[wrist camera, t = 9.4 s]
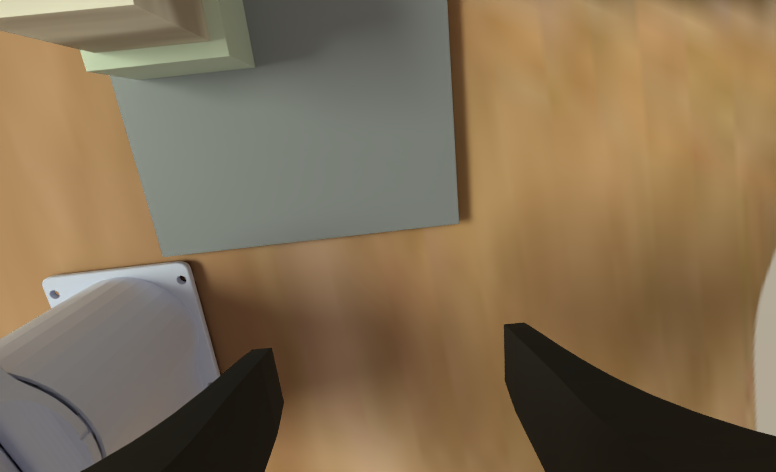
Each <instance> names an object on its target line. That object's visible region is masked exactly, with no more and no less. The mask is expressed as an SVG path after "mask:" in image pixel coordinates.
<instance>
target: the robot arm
mask: <svg viewBox="0 0 776 472" xmlns="http://www.w3.org/2000/svg"><path fill="white" fill-rule="evenodd" d="M180 276H184V277H185V278H186V282H184V281H182V280H181V279H180ZM42 285H43V289H44V291H45V294H46V296H47V299H48V301H49V304H50V306H51V309H50V310H48V311H46V312H45V313H43V314H41V315H40V316H38V317H36V318H35V319H33V320H31V321H30V322H28V323H26V324H25V325H23V326H21V327H20V328H18V329H16V330H14V331H13V332H11V333H9V334H8V335H6V336H4V337H3V338H1V339H0V472H265V469H266V466H267V463H268V460H269V458H270V455H271V452H272V449H273V446H274V443H275V440H276V437H277V434H278V429H279V425H280V420H281V415H282V410H283V404H284V400H283V396H282V392H281V387H280V383H279V378H278V374H277V369H276V365H275V361H274V356H273V352H272V348H265V349H255V350H251V351H250V352H249V353H247V354H246V355H245V356H243V357H242V358H241V359H240V360H239V361H237V362H236V363H235V364H234V365H233V366H231V367H230V368H229V369H228V370H227V371H226V372H224V373H223V374H222V375H221V376H220V372H219V369H218V365H217V361H216V358H215V354H214V350H213V347H212V343H211V339H210V336H209V332H208V329H207V325H206V321H205V318H204V314H203V310H202V307H201V303H200V299H199V296H198V292H197V288H196V285H195V281H194V277H193V274H192V270H191V267H190V265H189V264H188V263H186V262H184V261H176V262H167V263H158V264H149V265H141V266H132V267H123V268H114V269H105V270H97V271H88V272H79V273H70V274H61V275H53V276H50V277H48V278H46V279H45V280H43V283H42ZM55 290H56V291H57V292H58V293H59V295H60V296H59V295H57V294H56V292H55ZM504 353H505V382H506V385H507V388H508V391H509V394H510V397H511V400H512V403H513V406H514V408H515V411H516V413H517V415H518V417H519V419H520V421H521V424H522V426H523V428H524V430H525V432H526V434H527V436H528V438H529V440H530V442H531V444H532V446H533V448H534V450H535V452H536V454H537V456H538V458H539V460H540V462H541V464H542V466H543V468H544V470H545V472H776V436H772V435H769V434H765V433H761V432H757V431H754V430H750V429H747V428H743V427H740V426H737V425H734V424H731V423H727V422H724V421H721V420H718V419H715V418H712V417H709V416H706V415H703V414H700V413H697V412H694V411H692V410H689V409H686V408H684V407H681V406H679V405H676V404H673V403H671V402H668V401H666V400H663V399H661V398H658V397H656V396H653V395H651V394H649V393H646V392H644V391H642V390H640V389H638V388H636V387H633V386H631V385H629V384H627V383H625V382H623V381H621V380H619V379H617V378H615V377H613V376H611V375H609V374H607V373H605V372H603V371H602V370H600V369H598V368H596V367H594V366H593V365H591V364H589V363H587V362H586V361H584V360H582V359H581V358H579V357H577V356H576V355H574V354H572V353H571V352H569V351H567V350H566V349H564V348H563V347H561V346H560V345H558V344H557V343H555V342H553V341H552V340H550V339H549V338H547V337H546V336H544V335H543V334H541V333H540V332H538V331H537V330H535V329H534V328H532V327H531V326H529V325H527V324H526V323H515V324H505V325H504ZM210 382H211V384H210Z"/></svg>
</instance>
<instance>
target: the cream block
mask: <svg viewBox="0 0 776 472" xmlns="http://www.w3.org/2000/svg"><path fill="white" fill-rule="evenodd" d="M0 31H4V32H8V33H13V34H17V35H21V36H25V37H29V38H34V39H38V40H42V41H46V42H51V43H55V44H59V45H63V46H67V47H72V48H76V49H80V50H84V51H89V52H93V53H99V52H109V51H119V50H129V49H139V48H149V47H159V46H169V45H179V44H189V43H199V42H209V41H210V36H209V32H208V27H207V22H206V17H205V13H204V8H203V3H202V0H0Z"/></svg>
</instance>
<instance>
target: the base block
mask: <svg viewBox="0 0 776 472" xmlns="http://www.w3.org/2000/svg"><path fill="white" fill-rule="evenodd" d="M202 3H203V8H204V13H205V17H206V22H207V27H208V32H209V36H210V41H209V42H199V43H189V44H179V45H169V46H159V47H149V48H139V49H129V50H119V51H109V52H99V53H93V52H89V51H84V50H80V52H81V55H82V58H83V61H84V65H85V68H86V71H87V72H93V73H99V74H105V75H111V76H117V77H123V78H129V79H135V80H144V79H153V78H162V77H172V76H181V75H190V74H199V73H209V72H218V71H227V70H236V69H245V68H255V63H254V58H253V53H252V48H251V42H250V37H249V32H248V26H247V21H246V16H245V11H244V5H243V0H202Z"/></svg>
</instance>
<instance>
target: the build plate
mask: <svg viewBox="0 0 776 472" xmlns="http://www.w3.org/2000/svg"><path fill="white" fill-rule="evenodd" d="M243 5H244V11H245V16H246V21H247V26H248V32H249V37H250V42H251V48H252V53H253V58H254V63H255V68H245V69H236V70H227V71H218V72H209V73H199V74H190V75H181V76H172V77H162V78H153V79H144V80H135V79H129V78H123V77H117V76H111V75H110V78H111V81H112V85H113V88H114V91H115V95H116V98H117V102H118V105H119V108H120V112H121V115H122V119H123V122H124V126H125V129H126V132H127V136H128V139H129V143H130V146H131V149H132V153H133V156H134V160H135V163H136V166H137V170H138V173H139V177H140V180H141V183H142V187H143V190H144V194H145V197H146V200H147V204H148V207H149V211H150V214H151V217H152V221H153V224H154V228H155V231H156V234H157V238H158V241H159V245H160V248H161V251H162V255H163V257H168V256H177V255H186V254H194V253H203V252H212V251H221V250H230V249H239V248H247V247H256V246H265V245H274V244H283V243H292V242H300V241H309V240H318V239H327V238H336V237H345V236H353V235H362V234H371V233H380V232H389V231H398V230H406V229H415V228H424V227H433V226H442V225H451V224H459V213H458V195H457V176H456V157H455V138H454V120H453V101H452V82H451V63H450V44H449V26H448V7H447V0H243Z"/></svg>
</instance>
